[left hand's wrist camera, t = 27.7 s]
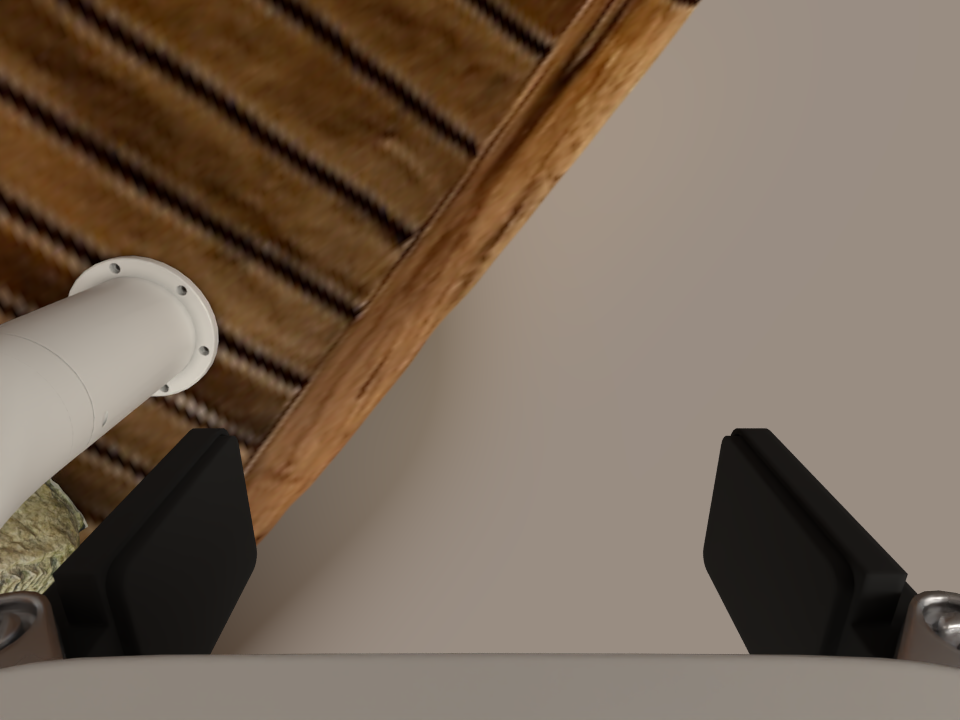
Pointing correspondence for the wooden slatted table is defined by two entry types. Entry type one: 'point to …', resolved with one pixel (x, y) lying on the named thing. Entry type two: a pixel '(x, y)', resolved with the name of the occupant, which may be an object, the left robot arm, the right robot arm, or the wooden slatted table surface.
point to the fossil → (38, 539)
